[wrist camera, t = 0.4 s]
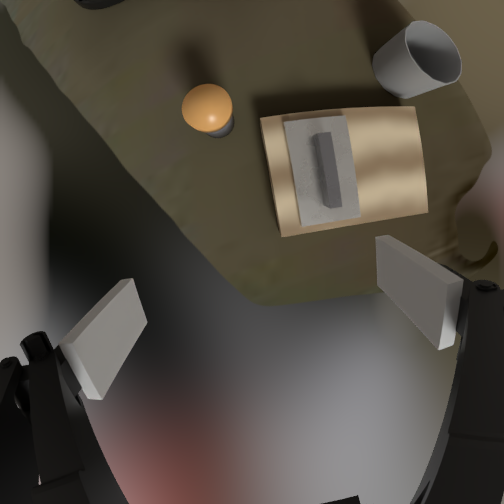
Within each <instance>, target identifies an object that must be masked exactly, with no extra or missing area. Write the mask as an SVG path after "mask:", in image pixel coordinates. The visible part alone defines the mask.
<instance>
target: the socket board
mask: <svg viewBox="0 0 504 504" xmlns="http://www.w3.org/2000/svg"><path fill="white" fill-rule="evenodd" d="M343 115H345V116H346V121H347V126H348V131H349V136H350V142H351V148H352V154H353V160H354V167H355V174H356V181H357V188H358V196H359V205H360V214H361V217H358V218H352V219H346V220H340V221H334V222H328V223H322V224H316V225H310V226H305V227H301V224H300V217H299V211H298V204H297V198H296V192H295V186H294V180H293V174H292V168H291V163H290V157H289V152H288V146H287V141H286V135H285V130H284V125H283V122H287V121H294V120H302V119H311V118H321V117H331V116H343ZM259 123H260V128H261V133H262V139H263V144H264V149H265V154H266V160H267V165H268V171H269V176H270V182H271V187H272V193H273V199H274V205H275V210H276V216H277V222H278V228H279V232H280V235H281V237H286V236H292V235H298V234H303V233H309V232H315V231H321V230H326V229H332V228H338V227H344V226H350V225H356V224H362V223H368V222H373V221H379V220H385V219H391V218H397V217H404V216H410V215H416V214H422V213H428V202H427V189H426V178H425V169H424V160H423V153H422V146H421V139H420V133H419V127H418V122H417V117H416V112H415V107H359V108H342V109H329V110H318V111H309V112H300V113H291V114H284V115H277V116H270V117H263V118H260V122H259Z"/></svg>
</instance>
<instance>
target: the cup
mask: <svg viewBox="0 0 504 504" xmlns="http://www.w3.org/2000/svg"><path fill="white" fill-rule="evenodd" d="M372 67H373V70H374V73H375V77H376V79H377V80H378V81H379V83H380V84H381V85H382V87H383V88H384V89H385V90H387V91H388V92H390V93H391V94H393V95H394V96H396V97H401V98H406V99H407V98H410V97H413V96H416V95H419V94H422V93H425V92H427V91H430V90H433V89H436V88H439V87H442V86H445V85H448V84H451V83H454V82H456V81H457V79H458V78H459V76H460V75H461V72H462V61H461V58H460V55H459V52H458V49H457V47H456V46H455V44H454V43H453V41H452V40H451V38H450V37H449V36H448V35H447V34H446V33H445V32H444V31H443V30H441V29H440V28H439V27H438V26H436V25H434V24H431V23H429V22H426V21H414V22H411V23H410V24H409V25H408V26H406V27H405V28H404V29H403V30H401V31H400V32H399V33H398V34H396V35H395V36H394V37H393V38H392V39H390V40H389V41H388V42H387V43H386V44H384V45H383V46H382V47H381V48H380V49H379V50H378V51H377V52H376V53H375V54H374V56H373V63H372Z"/></svg>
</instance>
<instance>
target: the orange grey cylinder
mask: <svg viewBox="0 0 504 504" xmlns="http://www.w3.org/2000/svg"><path fill="white" fill-rule="evenodd" d="M232 113H233V106H232V102H231V99H230V97H229V95H228V93H227V92H226V91H225V90H224V89H223V88H221V87H220V86H217V85H214V84H202V85H199V86H197V87H195V88H193V89H192V90H191V91H190V92H188V94H187V95H186V96H185V98H184V100H183V104H182V114H183V117H184V119H185V120H186V122H187V123H188V124H189V125H190V126H192V127H193V128H195V129H196V130H198V131H201V132H205V133H206V134H207V135H209V136H211V137H213V138H222V137H225V136H227V135H228V134H229V133H230V132H231V131H232V129H233V127H234V117H233V115H232Z"/></svg>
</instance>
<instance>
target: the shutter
mask: <svg viewBox="0 0 504 504" xmlns="http://www.w3.org/2000/svg"><path fill="white" fill-rule="evenodd" d="M283 125H284V130H285V135H286V141H287V146H288V152H289V157H290V163H291V168H292V174H293V180H294V186H295V192H296V198H297V204H298V211H299V217H300V224H301V227H305V226H310V225H316V224H322V223H328V222H334V221H340V220H346V219H352V218H358V217H361V214H360V205H359V196H358V188H357V181H356V174H355V167H354V160H353V154H352V148H351V142H350V136H349V131H348V126H347V121H346V116H345V115H343V116H331V117H321V118H311V119H302V120H294V121H287V122H283Z"/></svg>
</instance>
